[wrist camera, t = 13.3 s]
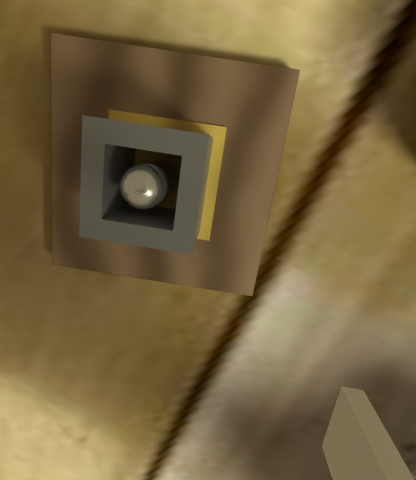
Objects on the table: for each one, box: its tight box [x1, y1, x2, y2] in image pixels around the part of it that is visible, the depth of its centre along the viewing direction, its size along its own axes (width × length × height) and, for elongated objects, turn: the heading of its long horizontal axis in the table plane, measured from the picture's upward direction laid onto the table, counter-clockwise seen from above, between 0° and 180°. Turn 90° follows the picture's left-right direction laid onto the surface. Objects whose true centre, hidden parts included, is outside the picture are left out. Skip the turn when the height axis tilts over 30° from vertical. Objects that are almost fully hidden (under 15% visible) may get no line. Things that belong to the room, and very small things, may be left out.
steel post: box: [120, 161, 179, 209], centre depth 23 cm, size 3×3×8 cm
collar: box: [79, 115, 213, 255], centre depth 23 cm, size 8×8×7 cm
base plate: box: [51, 33, 300, 296], centre depth 27 cm, size 20×20×2 cm
